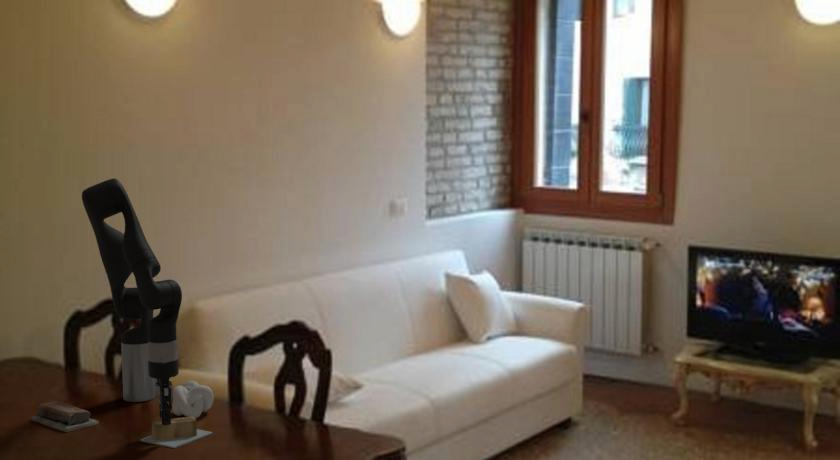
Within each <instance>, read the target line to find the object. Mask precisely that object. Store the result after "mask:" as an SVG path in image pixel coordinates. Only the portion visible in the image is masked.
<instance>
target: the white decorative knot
mask: <svg viewBox="0 0 840 460" xmlns="http://www.w3.org/2000/svg"><path fill="white" fill-rule="evenodd" d="M214 400H215V395H214V392H213V390H212V389H211V388H210V387H209V386H208V385H205V384H204V385H203V384H199V383H198V382H197V381H195V380H188V381H186V382H184V383H183V384H182V385H176V386H175V387H174V388H173V389H172V413H174V414H175V416H178V417H180V416H184V417H194V416H195V419H198V418H200V416H201V414H202V413H205V412H206V411H208V410H209V409H210V408H211V407H212V406H213V403H214Z"/></svg>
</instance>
